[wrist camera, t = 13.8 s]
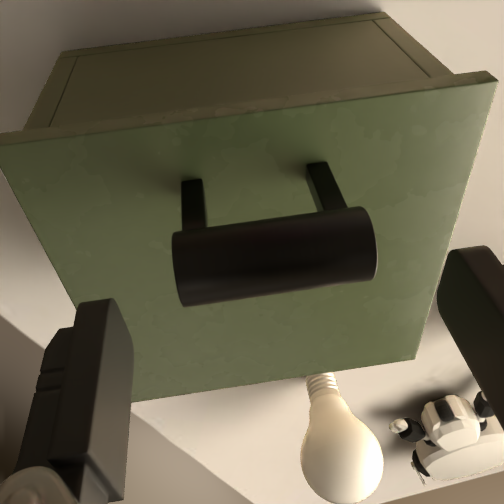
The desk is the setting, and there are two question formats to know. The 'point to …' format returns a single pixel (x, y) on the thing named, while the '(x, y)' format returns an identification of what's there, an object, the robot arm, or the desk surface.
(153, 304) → the green handled lid
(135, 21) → the desk surface
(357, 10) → the desk surface
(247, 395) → the desk surface
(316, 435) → the lightbulb
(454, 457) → the robot toy
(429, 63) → the green box
